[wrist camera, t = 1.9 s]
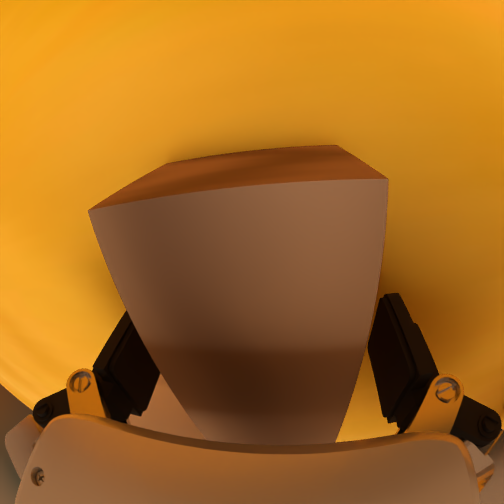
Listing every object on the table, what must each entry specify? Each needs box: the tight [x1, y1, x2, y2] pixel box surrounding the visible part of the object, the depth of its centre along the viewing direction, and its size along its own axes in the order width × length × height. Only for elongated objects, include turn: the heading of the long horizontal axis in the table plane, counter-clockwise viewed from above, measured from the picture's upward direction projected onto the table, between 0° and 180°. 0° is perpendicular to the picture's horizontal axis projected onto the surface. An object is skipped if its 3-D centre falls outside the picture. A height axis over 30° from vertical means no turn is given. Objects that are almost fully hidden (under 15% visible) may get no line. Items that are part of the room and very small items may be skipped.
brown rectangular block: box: [88, 145, 388, 445], centre depth 10 cm, size 6×13×5 cm, turn 7°
